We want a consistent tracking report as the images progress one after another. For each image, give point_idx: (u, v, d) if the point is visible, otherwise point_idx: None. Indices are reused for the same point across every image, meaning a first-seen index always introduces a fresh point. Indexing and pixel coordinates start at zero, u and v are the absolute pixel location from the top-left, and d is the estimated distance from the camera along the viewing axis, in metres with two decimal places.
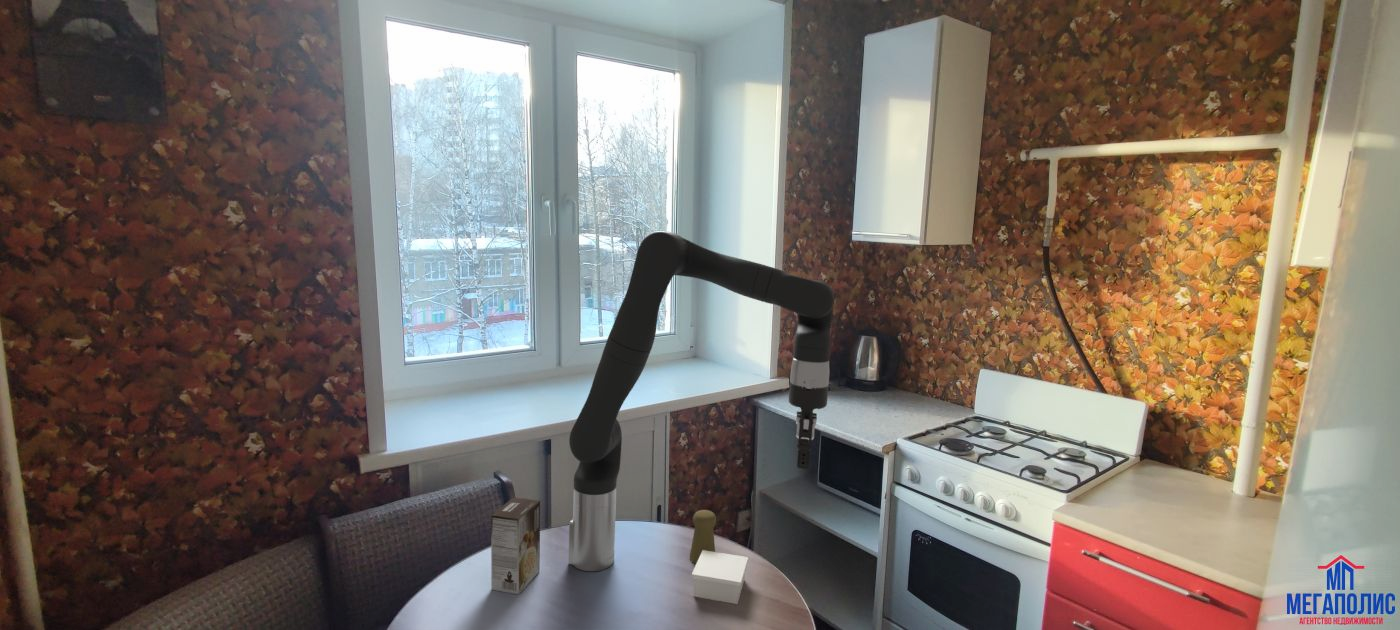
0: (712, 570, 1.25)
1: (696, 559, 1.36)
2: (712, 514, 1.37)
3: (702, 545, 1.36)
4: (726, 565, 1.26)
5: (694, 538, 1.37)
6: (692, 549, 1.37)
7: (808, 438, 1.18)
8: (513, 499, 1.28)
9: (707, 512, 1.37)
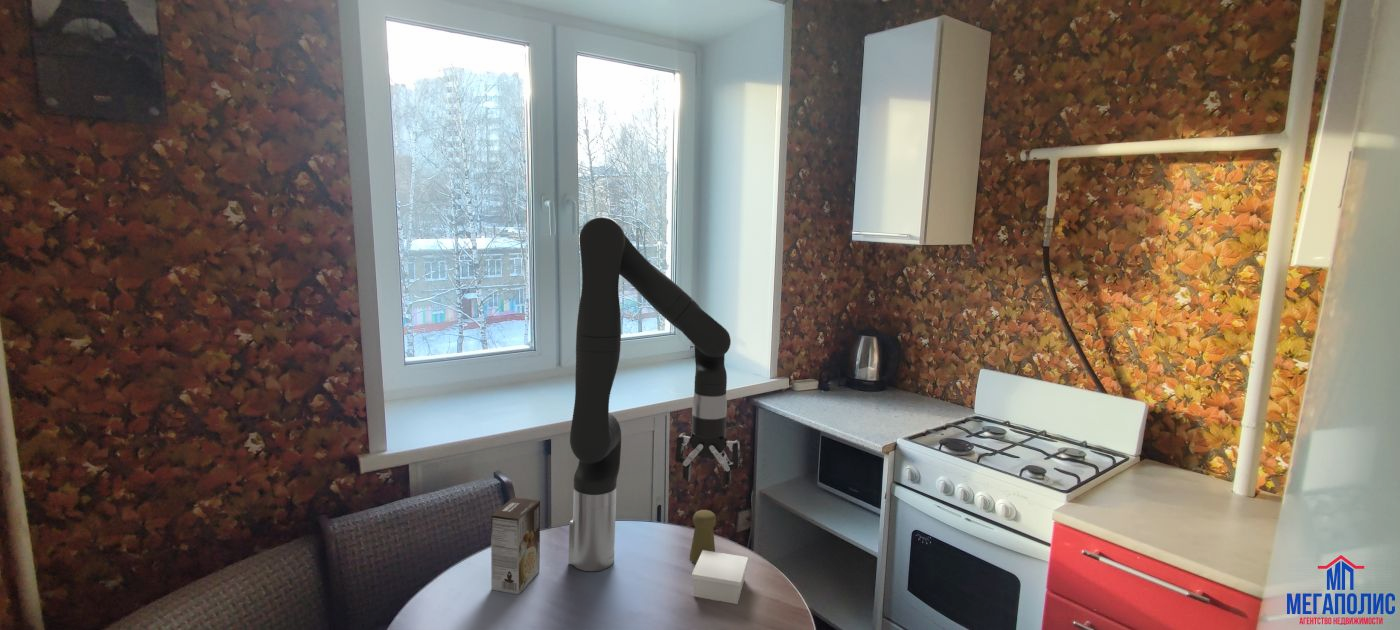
0: (712, 570, 1.25)
1: (696, 559, 1.36)
2: (712, 514, 1.37)
3: (702, 545, 1.36)
4: (726, 565, 1.26)
5: (694, 538, 1.37)
6: (692, 549, 1.37)
7: None
8: (513, 499, 1.28)
9: (707, 512, 1.37)
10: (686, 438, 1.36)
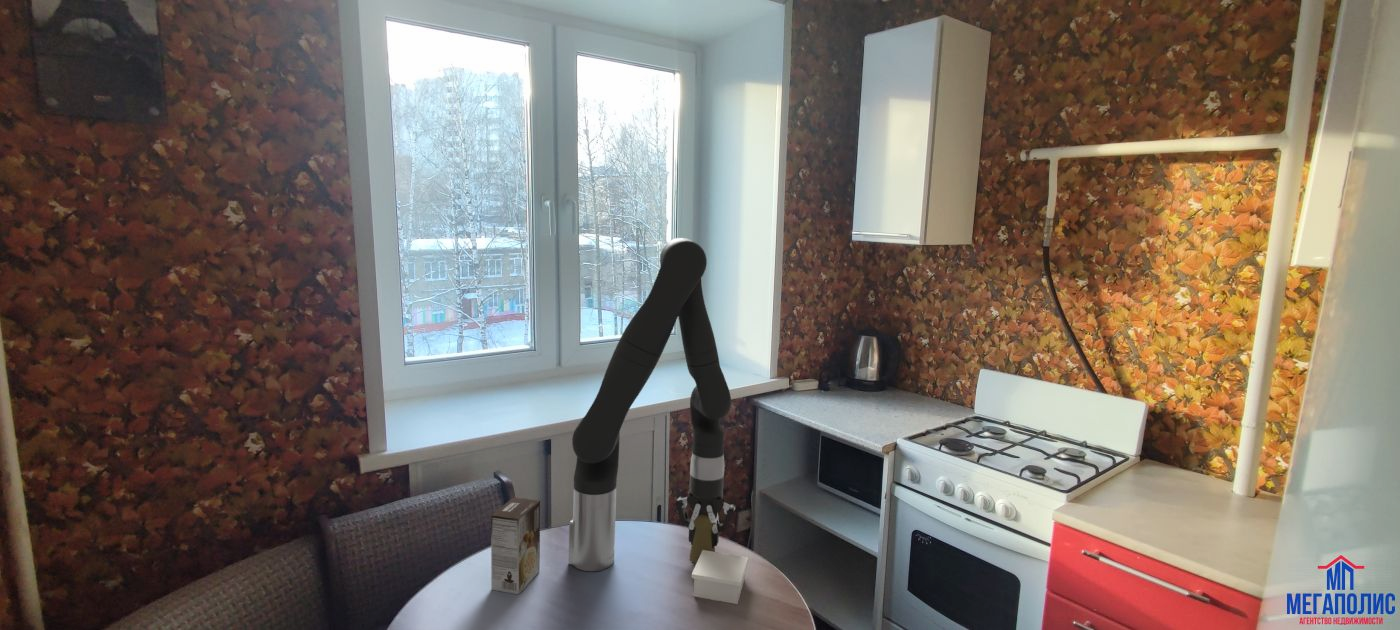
0: (712, 570, 1.25)
1: (696, 559, 1.36)
2: None
3: (702, 544, 1.36)
4: (726, 565, 1.26)
5: (694, 538, 1.37)
6: (692, 549, 1.37)
7: None
8: (513, 499, 1.28)
9: None
10: (684, 500, 1.38)
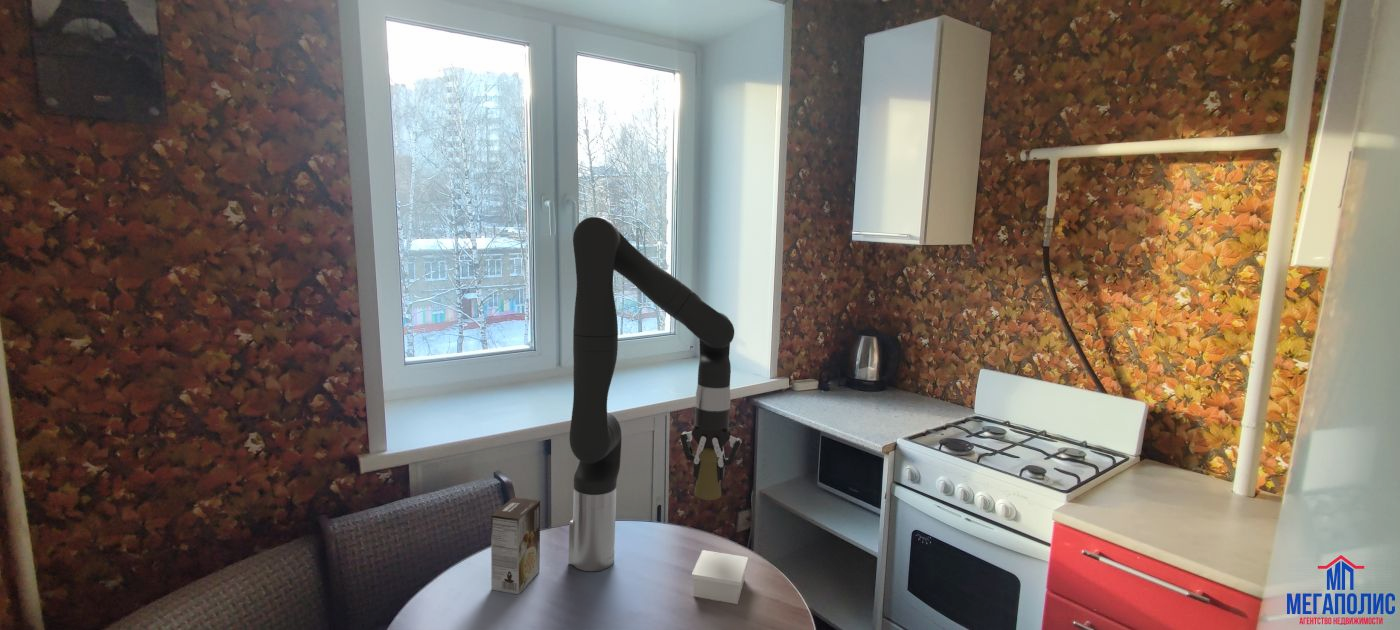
0: (712, 570, 1.25)
1: (701, 494, 1.33)
2: None
3: (707, 478, 1.32)
4: (726, 565, 1.26)
5: (699, 472, 1.33)
6: (697, 484, 1.34)
7: None
8: (513, 499, 1.28)
9: None
10: (688, 433, 1.34)
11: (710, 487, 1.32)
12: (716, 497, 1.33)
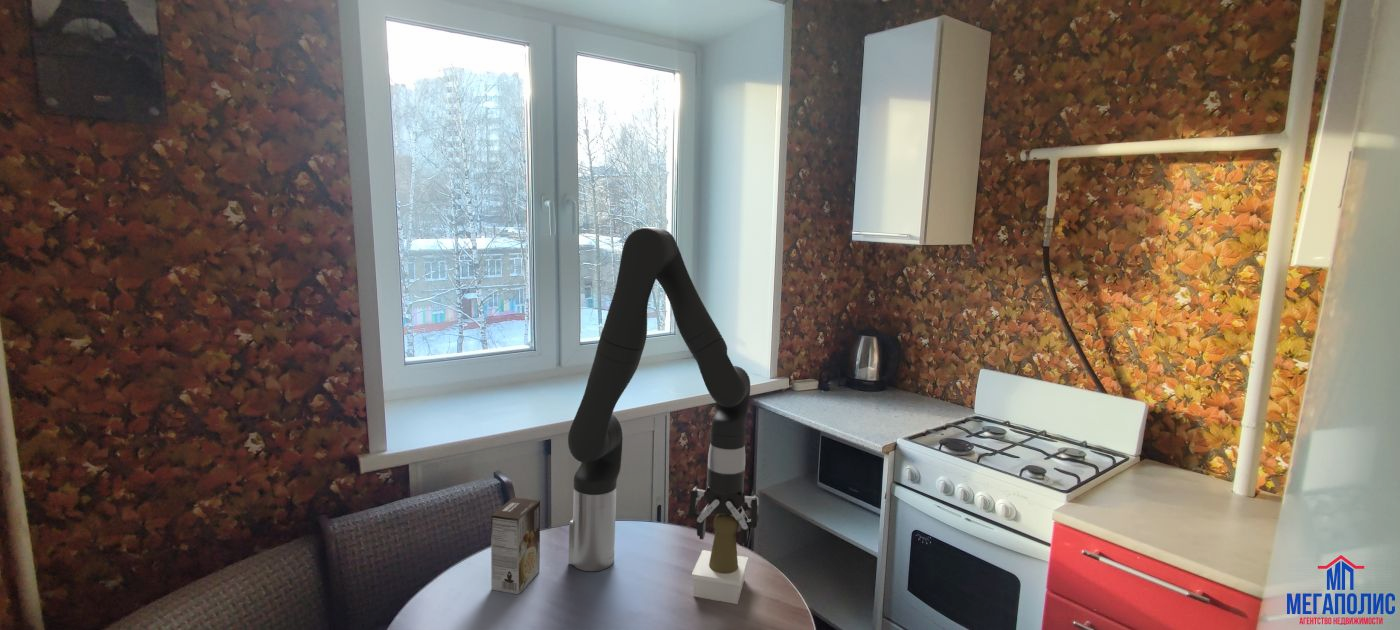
0: (712, 570, 1.25)
1: (717, 567, 1.24)
2: (734, 517, 1.25)
3: (723, 551, 1.23)
4: None
5: (715, 544, 1.25)
6: (712, 556, 1.25)
7: None
8: (513, 499, 1.28)
9: None
10: (700, 492, 1.25)
11: (726, 560, 1.23)
12: (733, 570, 1.24)
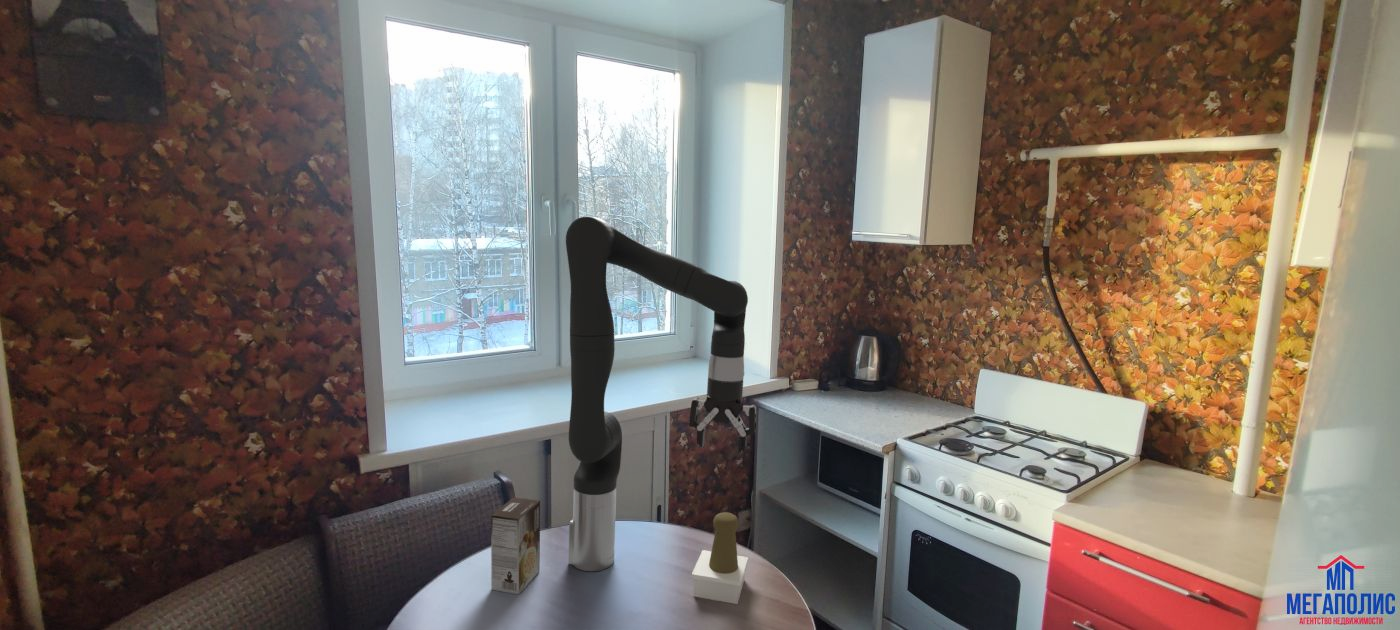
0: (712, 570, 1.25)
1: (717, 567, 1.24)
2: (734, 517, 1.25)
3: (723, 551, 1.23)
4: None
5: (715, 543, 1.25)
6: (712, 556, 1.25)
7: (740, 424, 1.30)
8: (513, 499, 1.28)
9: (729, 515, 1.25)
10: (701, 402, 1.31)
11: (726, 560, 1.23)
12: (733, 570, 1.24)
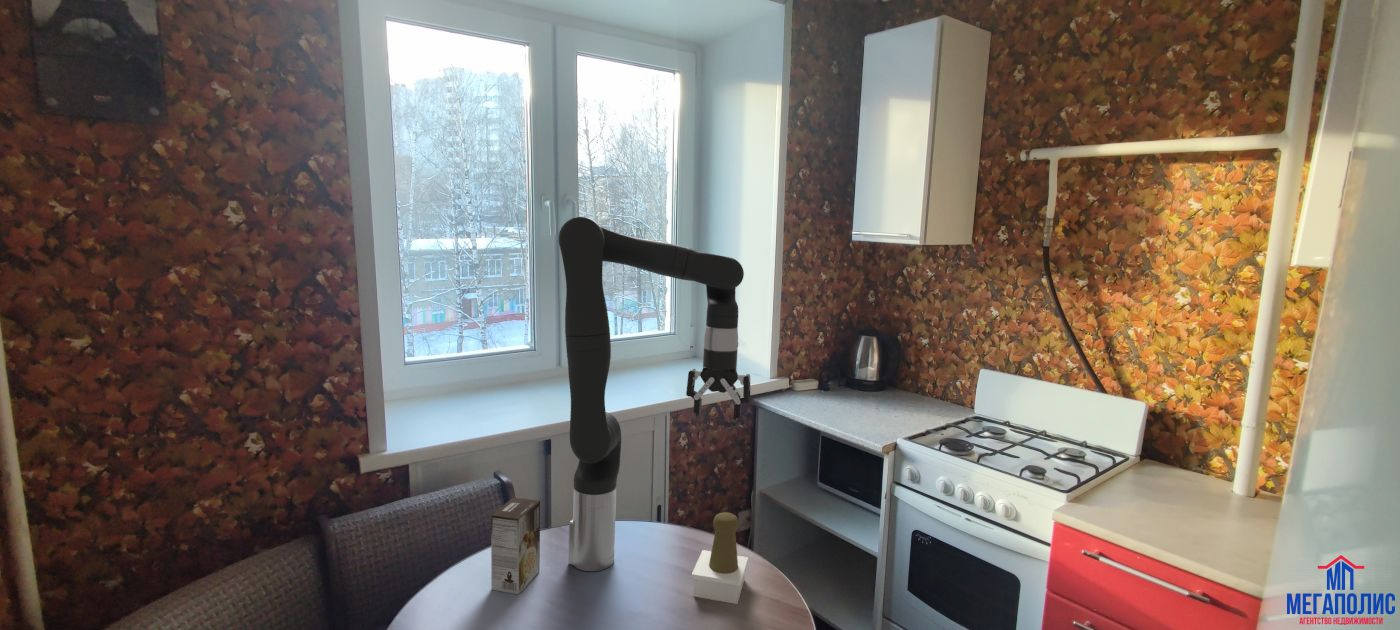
0: (712, 570, 1.25)
1: (717, 567, 1.24)
2: (734, 517, 1.25)
3: (723, 551, 1.23)
4: None
5: (715, 543, 1.25)
6: (712, 556, 1.25)
7: (735, 393, 1.37)
8: (513, 499, 1.28)
9: (729, 515, 1.25)
10: (697, 372, 1.37)
11: (726, 560, 1.23)
12: (733, 570, 1.24)
